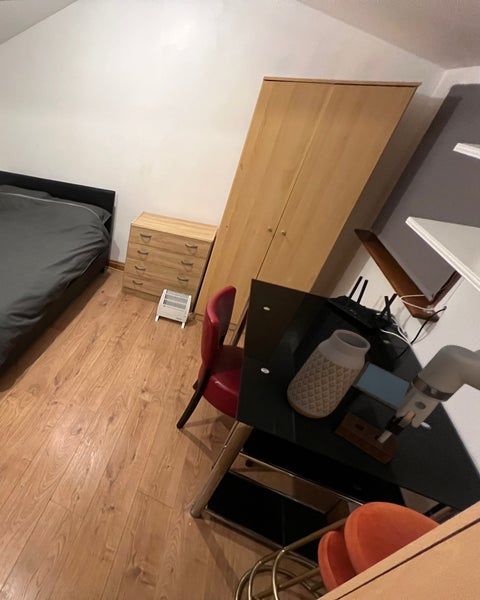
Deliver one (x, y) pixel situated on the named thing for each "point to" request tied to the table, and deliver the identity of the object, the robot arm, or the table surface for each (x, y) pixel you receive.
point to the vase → (328, 374)
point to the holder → (367, 438)
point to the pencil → (384, 436)
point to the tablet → (382, 385)
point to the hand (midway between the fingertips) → (391, 429)
